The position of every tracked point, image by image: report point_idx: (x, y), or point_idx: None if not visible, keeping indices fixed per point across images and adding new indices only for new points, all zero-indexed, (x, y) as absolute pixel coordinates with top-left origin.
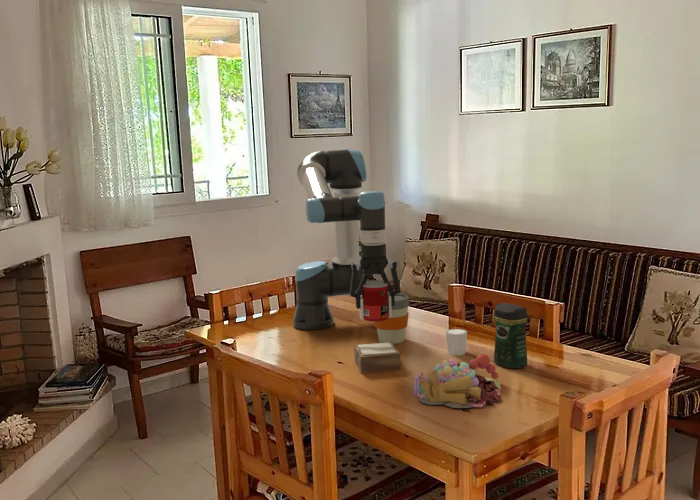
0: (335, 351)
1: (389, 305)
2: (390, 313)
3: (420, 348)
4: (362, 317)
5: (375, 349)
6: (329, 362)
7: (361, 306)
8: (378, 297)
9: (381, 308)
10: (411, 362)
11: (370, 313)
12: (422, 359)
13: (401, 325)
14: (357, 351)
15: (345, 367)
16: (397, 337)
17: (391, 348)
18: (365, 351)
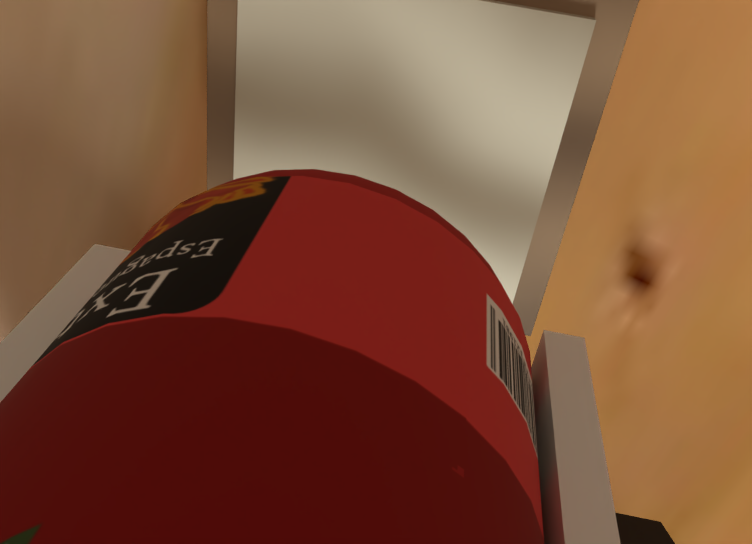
0: None
1: (9, 381)
2: (78, 285)
3: (20, 283)
4: (567, 358)
5: (411, 130)
6: (710, 306)
7: (603, 521)
8: (169, 509)
9: (212, 278)
10: (131, 41)
11: (464, 300)
12: (36, 70)
13: None
14: (581, 176)
15: (660, 159)
16: None
17: (255, 91)
18: (525, 117)
